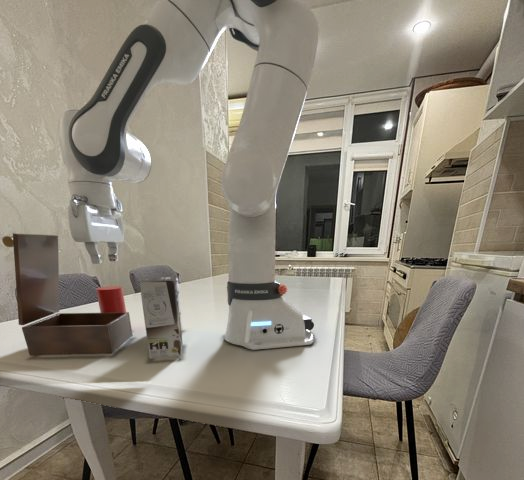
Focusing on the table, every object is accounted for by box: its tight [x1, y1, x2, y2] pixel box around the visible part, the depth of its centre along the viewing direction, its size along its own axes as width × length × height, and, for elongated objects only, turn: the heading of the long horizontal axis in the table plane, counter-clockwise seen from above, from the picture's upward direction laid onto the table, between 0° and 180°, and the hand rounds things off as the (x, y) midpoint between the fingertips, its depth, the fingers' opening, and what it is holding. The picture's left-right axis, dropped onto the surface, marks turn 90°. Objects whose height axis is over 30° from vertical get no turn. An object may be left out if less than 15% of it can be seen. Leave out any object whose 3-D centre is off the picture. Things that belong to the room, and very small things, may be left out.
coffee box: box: [139, 275, 184, 360], centre depth 61 cm, size 9×6×16 cm
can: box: [95, 285, 127, 313], centre depth 76 cm, size 6×6×12 cm
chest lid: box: [1, 232, 60, 326], centre depth 61 cm, size 17×13×5 cm
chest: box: [21, 311, 133, 356], centre depth 66 cm, size 17×13×7 cm
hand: (106, 262), depth 72 cm, fingers open, 8 cm apart
